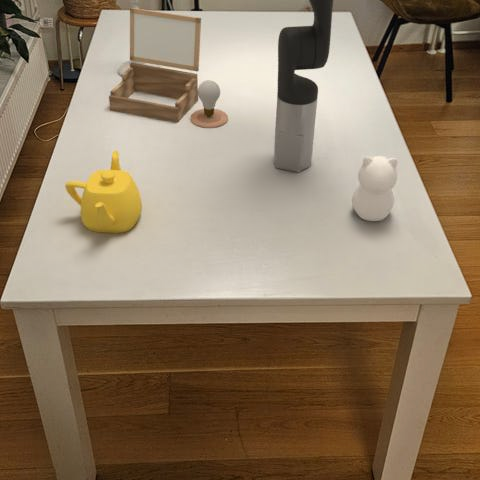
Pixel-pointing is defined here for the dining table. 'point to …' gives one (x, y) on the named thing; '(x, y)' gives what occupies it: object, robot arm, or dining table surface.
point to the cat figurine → (375, 188)
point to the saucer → (209, 119)
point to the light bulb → (208, 96)
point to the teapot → (108, 199)
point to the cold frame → (155, 92)
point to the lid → (165, 39)
